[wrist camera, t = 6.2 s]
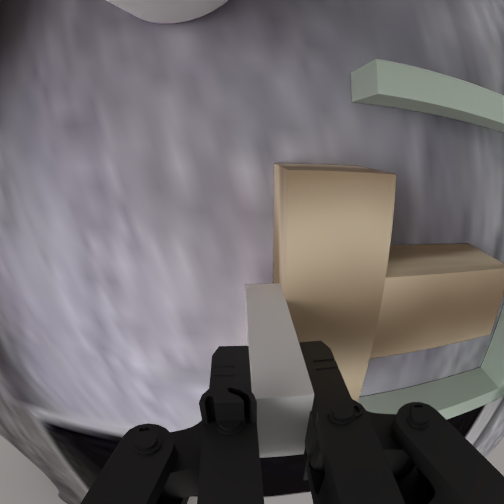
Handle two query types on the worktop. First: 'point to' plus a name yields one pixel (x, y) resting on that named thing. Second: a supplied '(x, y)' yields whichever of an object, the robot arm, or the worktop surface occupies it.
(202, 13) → the cup
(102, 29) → the worktop surface
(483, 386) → the dock bay
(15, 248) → the worktop surface
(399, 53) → the worktop surface
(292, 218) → the t block
